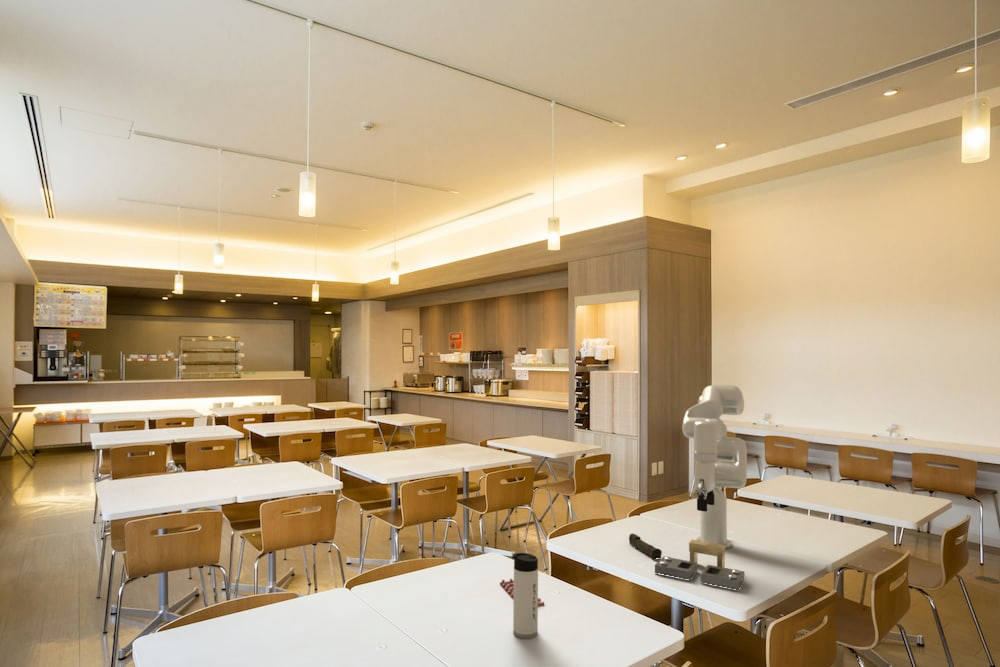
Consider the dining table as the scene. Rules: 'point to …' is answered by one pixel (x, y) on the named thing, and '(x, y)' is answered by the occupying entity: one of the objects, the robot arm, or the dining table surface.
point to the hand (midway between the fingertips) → (705, 507)
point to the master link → (707, 551)
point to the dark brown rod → (644, 546)
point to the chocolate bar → (509, 588)
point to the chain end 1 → (676, 567)
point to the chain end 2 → (723, 577)
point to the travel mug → (525, 596)
